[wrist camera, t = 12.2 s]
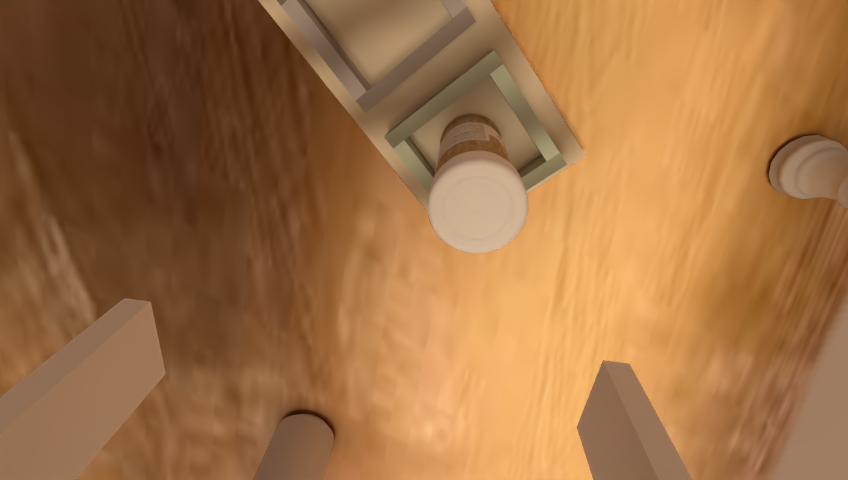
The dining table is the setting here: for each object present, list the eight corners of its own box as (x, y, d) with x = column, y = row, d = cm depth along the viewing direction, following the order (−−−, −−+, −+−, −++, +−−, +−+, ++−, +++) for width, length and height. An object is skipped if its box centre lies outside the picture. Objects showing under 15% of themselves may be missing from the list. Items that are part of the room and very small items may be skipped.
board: (263, -2, 29) (241, -7, 26) (398, -145, 25) (391, -169, 22) (452, 236, 35) (451, 253, 33) (581, 151, 32) (594, 163, 29)
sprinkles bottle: (505, 168, 31) (534, 249, 19) (445, 178, 32) (437, 263, 20) (497, 105, 30) (524, 151, 17) (433, 118, 30) (416, 171, 18)
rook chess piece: (796, 202, 32) (894, 250, 25) (750, 176, 32) (837, 217, 24) (847, 151, 30) (968, 186, 23) (799, 122, 30) (908, 148, 22)
